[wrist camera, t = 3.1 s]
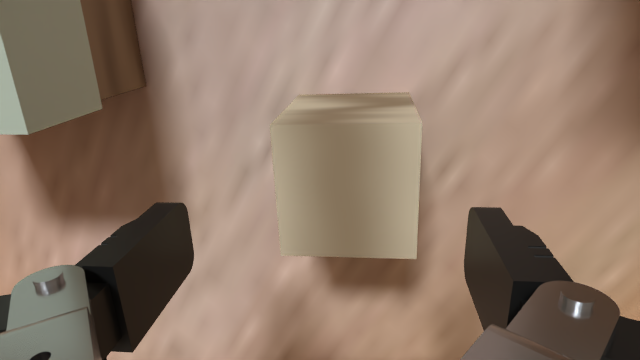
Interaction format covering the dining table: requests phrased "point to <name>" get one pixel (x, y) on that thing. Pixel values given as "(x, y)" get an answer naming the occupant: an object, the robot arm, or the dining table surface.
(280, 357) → the dining table surface
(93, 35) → the walnut slab
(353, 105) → the maple block
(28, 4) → the sage slab
